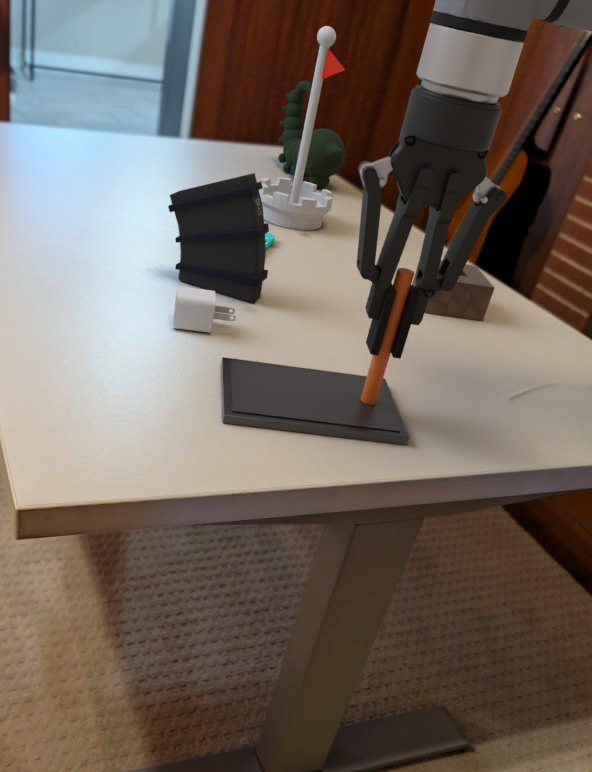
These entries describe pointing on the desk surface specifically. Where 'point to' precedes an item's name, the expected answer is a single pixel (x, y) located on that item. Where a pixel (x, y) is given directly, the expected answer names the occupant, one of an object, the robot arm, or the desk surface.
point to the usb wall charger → (198, 310)
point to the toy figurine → (323, 145)
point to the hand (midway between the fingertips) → (383, 350)
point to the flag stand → (303, 160)
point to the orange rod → (387, 337)
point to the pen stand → (463, 296)
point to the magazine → (222, 236)
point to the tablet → (307, 402)
